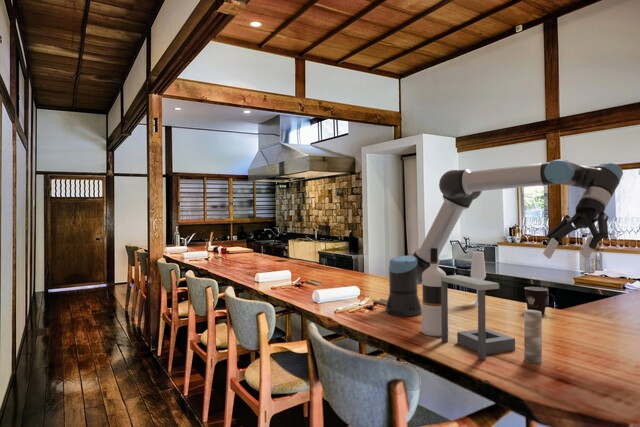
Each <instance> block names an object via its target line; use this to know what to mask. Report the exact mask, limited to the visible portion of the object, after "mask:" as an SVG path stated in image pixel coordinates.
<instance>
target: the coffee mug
mask: <svg viewBox="0 0 640 427" xmlns="http://www.w3.org/2000/svg"><path fill="white" fill-rule="evenodd" d="M548 291H549V290H548V289H547V288H546V287H545V288H544V287H539V286H536V287H535V286H526V287H524V295H525V303H526V310H537V311H540V312H542V315H545V314H544V313H546V308H547V307H549V306H551V305H553V304H554V303H555V302H556V297H555V296H554V294H551V293H548ZM548 296H551V297H552V299H553V301H552V302H550V303H549V304H547V297H548Z"/></svg>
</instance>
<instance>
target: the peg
mask: <svg viewBox="0 0 640 427" xmlns="http://www.w3.org/2000/svg"><path fill="white" fill-rule="evenodd" d="M523 314H524V315H523V322H524V323H523V328H524V333H523V334H524V335H523V340H524V341H523V342H524V346H523V347H524V348H523V349H524V354H523V355H524V358H523V359H524V361H526V362H527V363H530V364H542V363H543V340H542V339H543V338H542V336H543V335H542V334H543V332H542V329H543V328H542V327H543V326H542V324H543V323H542V318H543V317H542V315H543V314H542V312H540V311H537V310H527V309H525V310H523Z"/></svg>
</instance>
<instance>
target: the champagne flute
mask: <svg viewBox="0 0 640 427" xmlns="http://www.w3.org/2000/svg"><path fill="white" fill-rule="evenodd" d="M471 255H472V256H471V265H470V278H475V279H480V280H485V279H486V277H487V273H486V264H485V254H484V251H472V254H471ZM470 304H471V305H474V306H475V305H476V306H478V290H477V289H476V299H475V300H473V301H472V302H470ZM486 305H487V304H486V302H485V306H486Z"/></svg>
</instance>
